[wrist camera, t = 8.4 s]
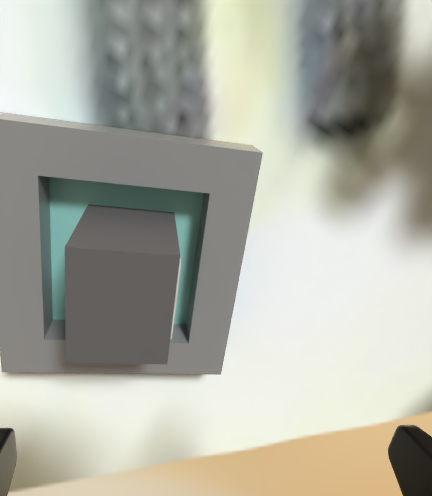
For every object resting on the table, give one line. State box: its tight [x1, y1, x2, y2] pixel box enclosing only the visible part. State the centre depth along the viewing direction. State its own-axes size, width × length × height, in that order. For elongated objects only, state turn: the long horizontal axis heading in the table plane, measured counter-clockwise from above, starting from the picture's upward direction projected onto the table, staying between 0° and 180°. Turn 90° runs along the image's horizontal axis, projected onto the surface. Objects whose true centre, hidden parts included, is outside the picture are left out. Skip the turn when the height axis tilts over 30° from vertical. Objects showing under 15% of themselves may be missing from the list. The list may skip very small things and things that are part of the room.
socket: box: [0, 112, 262, 374], centre depth 18 cm, size 11×12×2 cm
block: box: [65, 204, 181, 364], centre depth 17 cm, size 4×5×5 cm
